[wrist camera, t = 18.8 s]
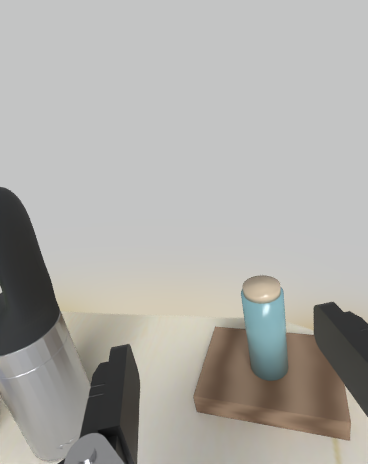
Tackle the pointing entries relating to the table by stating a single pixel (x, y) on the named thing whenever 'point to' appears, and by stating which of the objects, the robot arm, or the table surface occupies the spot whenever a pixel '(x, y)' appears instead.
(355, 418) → the table surface
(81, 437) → the robot arm
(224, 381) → the stand
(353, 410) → the table surface
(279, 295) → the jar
